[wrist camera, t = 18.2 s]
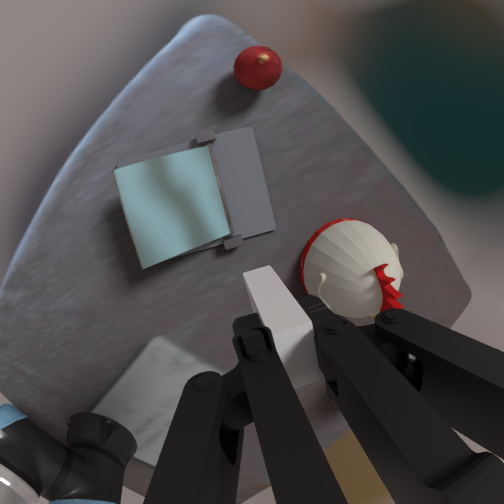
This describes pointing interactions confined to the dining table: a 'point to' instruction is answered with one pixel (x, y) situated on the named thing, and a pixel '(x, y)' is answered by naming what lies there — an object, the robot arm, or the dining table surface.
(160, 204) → the flap
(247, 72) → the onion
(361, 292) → the kitchen timer
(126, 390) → the dining table surface
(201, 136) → the hinge blocks
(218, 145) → the base plate
